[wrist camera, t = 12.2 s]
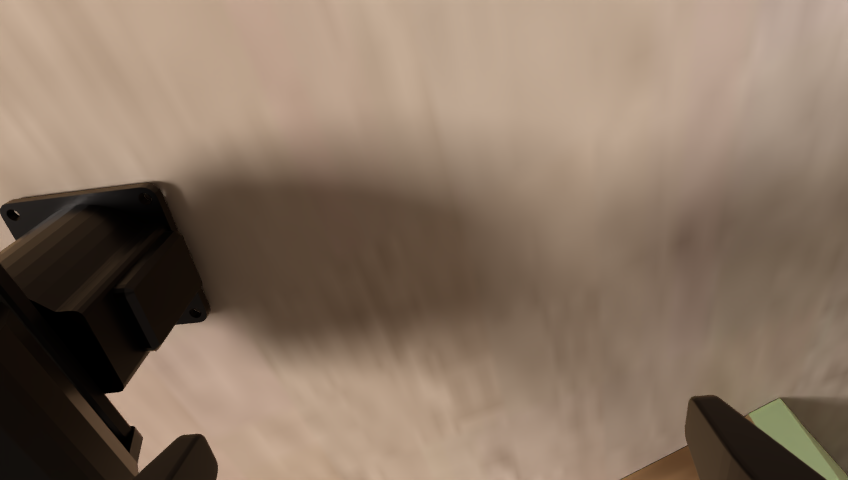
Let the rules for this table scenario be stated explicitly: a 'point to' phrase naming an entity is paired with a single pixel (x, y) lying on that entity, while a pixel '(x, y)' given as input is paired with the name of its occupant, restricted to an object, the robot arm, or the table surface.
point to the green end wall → (796, 438)
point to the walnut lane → (671, 467)
